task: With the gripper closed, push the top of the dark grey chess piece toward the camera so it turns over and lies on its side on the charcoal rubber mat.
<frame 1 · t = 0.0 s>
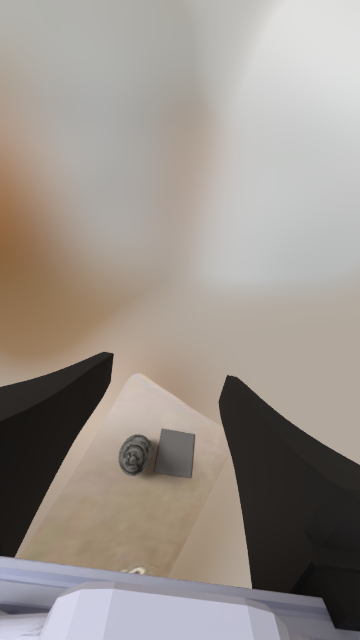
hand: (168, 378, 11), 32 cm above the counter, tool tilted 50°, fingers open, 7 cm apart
charcoal mat: (175, 451, 35), on the counter
dark grey chess piece: (137, 451, 34), on the counter
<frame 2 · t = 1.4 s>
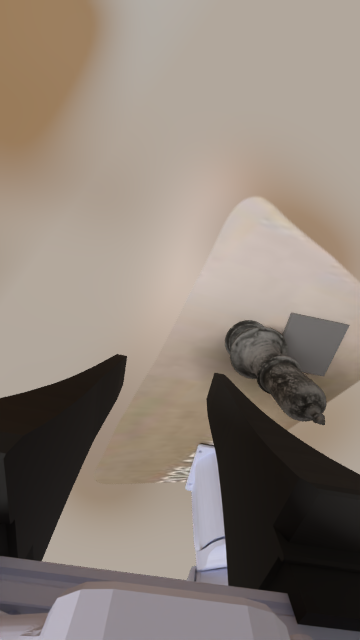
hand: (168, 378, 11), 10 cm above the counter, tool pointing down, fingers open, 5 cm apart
charcoal mat: (307, 345, 21), on the counter
dark grey chess piece: (245, 340, 21), on the counter
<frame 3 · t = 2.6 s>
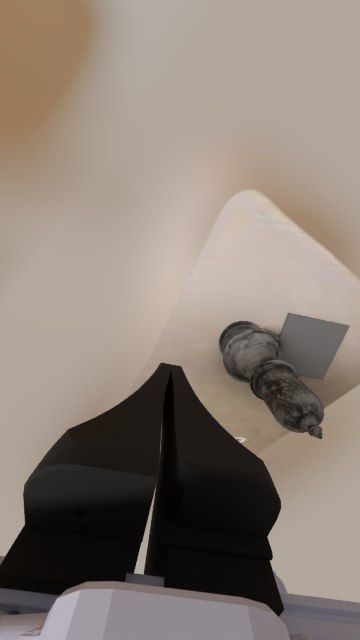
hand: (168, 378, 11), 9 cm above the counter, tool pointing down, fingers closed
charcoal mat: (305, 347, 20), on the counter
dark grey chess piece: (240, 341, 20), on the counter
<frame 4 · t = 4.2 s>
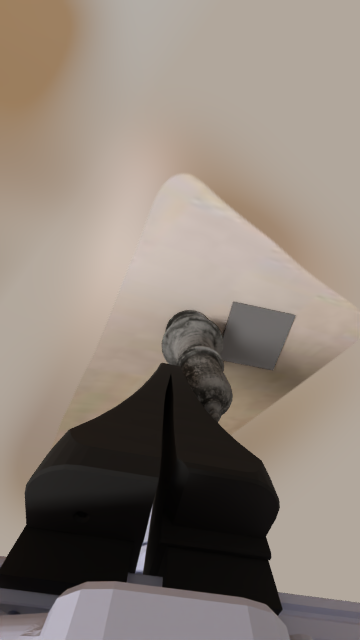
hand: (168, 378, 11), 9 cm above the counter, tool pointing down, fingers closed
charcoal mat: (253, 337, 20), on the counter
dark grey chess piece: (188, 332, 20), on the counter, touching gripper
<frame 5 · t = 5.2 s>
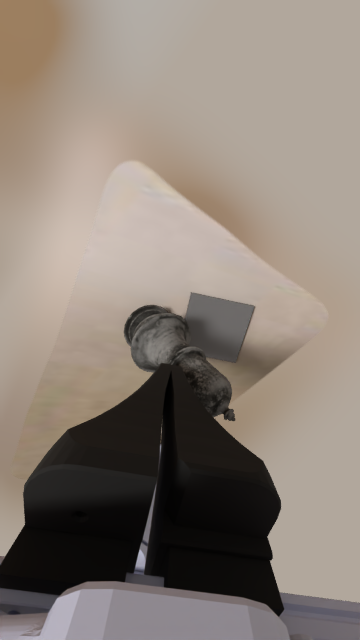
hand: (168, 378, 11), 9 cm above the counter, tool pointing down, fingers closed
charcoal mat: (214, 328, 20), on the counter
dark grey chess piece: (148, 328, 18), point 1 cm above the counter
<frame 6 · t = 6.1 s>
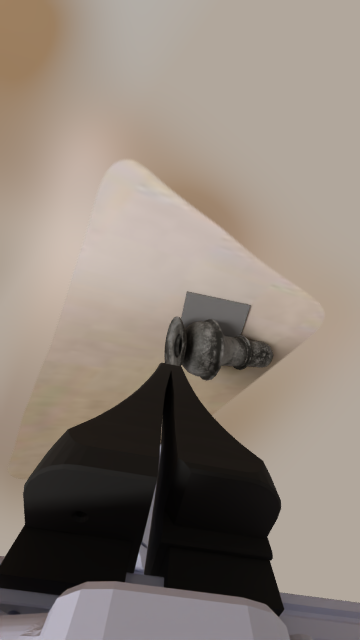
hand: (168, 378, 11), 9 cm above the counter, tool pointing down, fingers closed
charcoal mat: (210, 328, 20), on the counter
dark grey chess piece: (170, 344, 16), point 4 cm above the counter, touching charcoal mat
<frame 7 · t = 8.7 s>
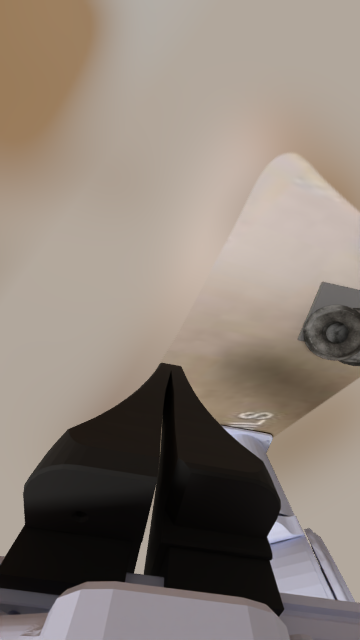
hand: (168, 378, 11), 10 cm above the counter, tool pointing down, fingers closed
charcoal mat: (337, 318, 20), on the counter
dark grey chess piece: (329, 331, 16), point 4 cm above the counter, touching charcoal mat
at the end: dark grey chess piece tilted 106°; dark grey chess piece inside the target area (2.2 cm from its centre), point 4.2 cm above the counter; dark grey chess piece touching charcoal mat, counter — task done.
